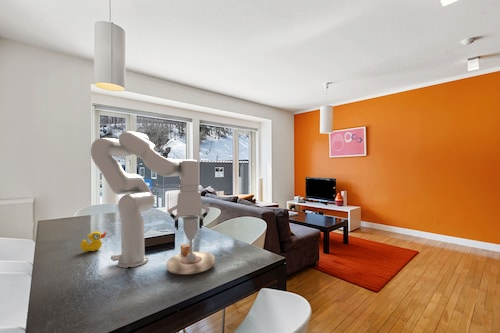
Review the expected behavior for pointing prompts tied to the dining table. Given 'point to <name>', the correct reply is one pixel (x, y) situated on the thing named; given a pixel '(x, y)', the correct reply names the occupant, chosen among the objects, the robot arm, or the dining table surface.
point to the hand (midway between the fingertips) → (188, 228)
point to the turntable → (183, 267)
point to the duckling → (93, 242)
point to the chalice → (190, 234)
